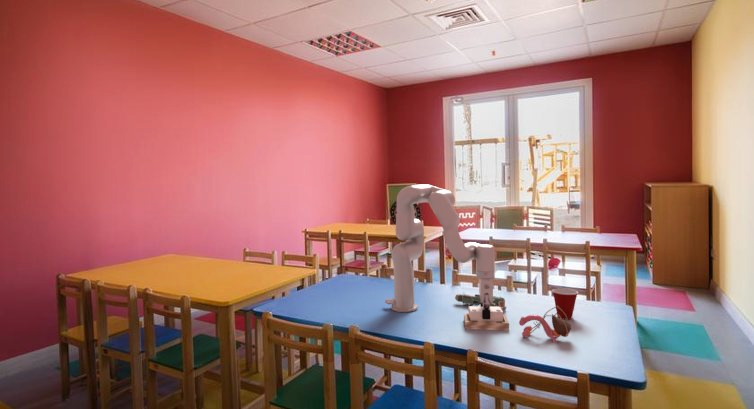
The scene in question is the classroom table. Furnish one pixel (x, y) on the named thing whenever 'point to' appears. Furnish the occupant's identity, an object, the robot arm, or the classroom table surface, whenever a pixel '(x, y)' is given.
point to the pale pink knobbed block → (476, 313)
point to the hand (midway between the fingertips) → (485, 315)
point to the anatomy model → (559, 325)
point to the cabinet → (486, 324)
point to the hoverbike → (476, 301)
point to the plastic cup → (565, 302)
